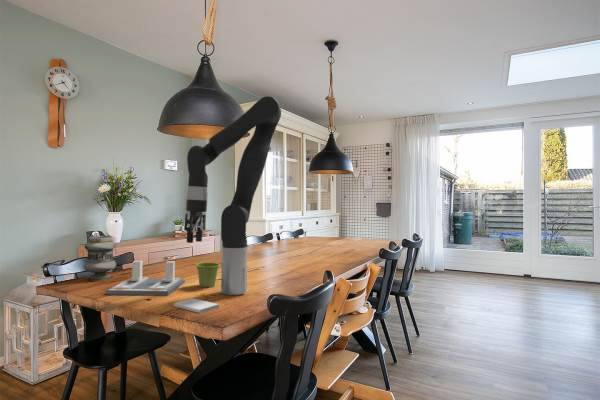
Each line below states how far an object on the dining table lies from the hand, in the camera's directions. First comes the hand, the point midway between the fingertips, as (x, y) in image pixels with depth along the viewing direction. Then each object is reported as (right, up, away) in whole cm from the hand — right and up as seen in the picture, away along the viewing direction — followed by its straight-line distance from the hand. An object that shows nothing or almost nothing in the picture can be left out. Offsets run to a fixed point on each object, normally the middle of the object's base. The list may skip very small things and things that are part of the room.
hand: (194, 242), depth 136 cm
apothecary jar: (-46, -18, +18) cm, 53 cm away
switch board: (-19, -18, +4) cm, 27 cm away
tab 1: (-26, -16, +9) cm, 32 cm away
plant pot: (+2, -19, +10) cm, 22 cm away
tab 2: (-13, -17, +9) cm, 23 cm away
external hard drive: (+6, -20, -19) cm, 28 cm away
